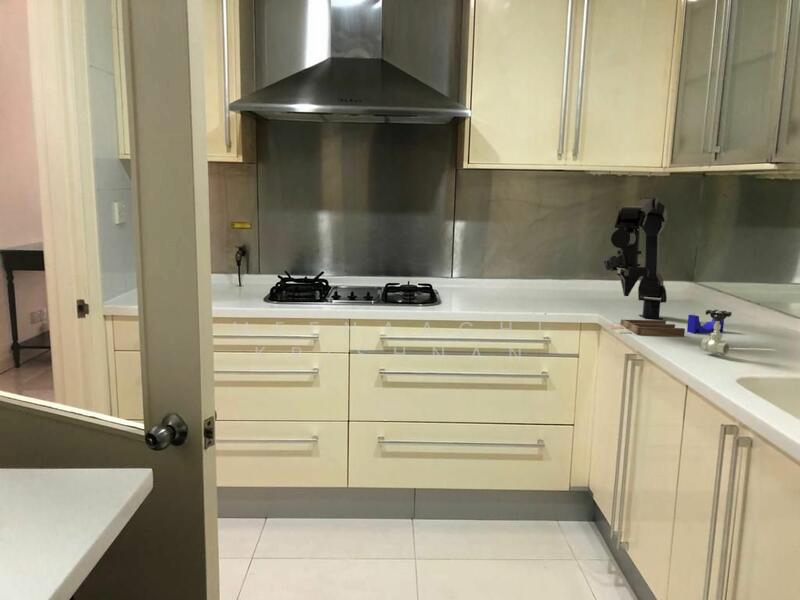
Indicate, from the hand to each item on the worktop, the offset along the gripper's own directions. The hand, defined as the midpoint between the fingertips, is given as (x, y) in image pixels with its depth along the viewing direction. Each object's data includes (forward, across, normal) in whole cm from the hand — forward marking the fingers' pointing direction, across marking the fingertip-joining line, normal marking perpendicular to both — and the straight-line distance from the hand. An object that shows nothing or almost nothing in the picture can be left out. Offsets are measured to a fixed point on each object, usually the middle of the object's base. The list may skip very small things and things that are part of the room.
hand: (626, 296), depth 208 cm
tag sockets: (+12, -4, +10) cm, 16 cm away
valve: (+12, +28, +16) cm, 34 cm away
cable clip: (+12, -4, +28) cm, 31 cm away
